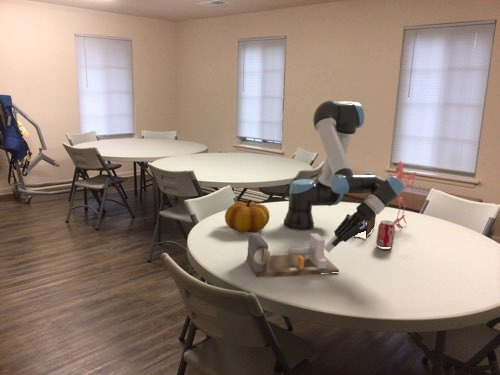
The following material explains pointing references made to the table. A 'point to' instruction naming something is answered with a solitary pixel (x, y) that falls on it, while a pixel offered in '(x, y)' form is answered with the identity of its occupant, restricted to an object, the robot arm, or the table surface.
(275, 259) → the bench
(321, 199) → the robot arm
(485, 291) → the table surface
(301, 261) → the orange flat block
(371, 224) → the letter holder
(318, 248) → the white stepped block
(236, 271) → the table surface
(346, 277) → the table surface
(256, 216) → the decorative pumpkin
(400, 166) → the figurine
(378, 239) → the soda can
